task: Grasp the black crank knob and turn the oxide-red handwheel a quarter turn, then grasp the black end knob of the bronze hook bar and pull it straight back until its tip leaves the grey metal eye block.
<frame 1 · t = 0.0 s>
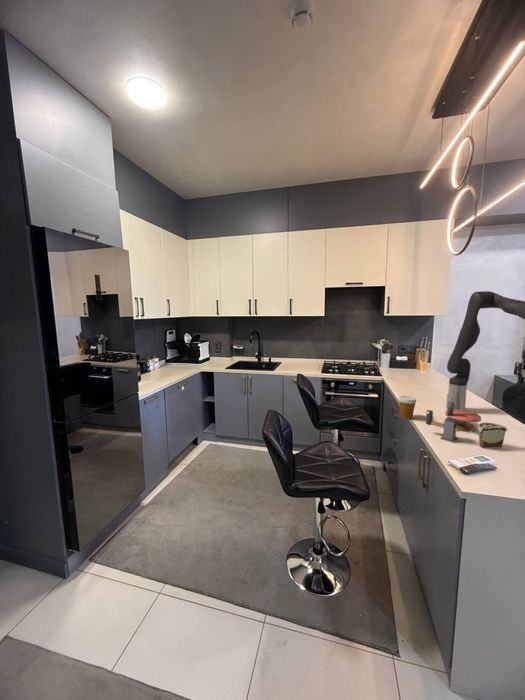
pedestal: (461, 426, 156), on the table
eye block: (449, 438, 143), on the table
hook: (442, 420, 144), point 8 cm above the table, slide at 0.0 cm
disposable coffee cup: (406, 417, 172), on the table
handwheel: (462, 413, 155), point 8 cm above the table, hinge at 0.0°
food container: (487, 445, 136), on the table
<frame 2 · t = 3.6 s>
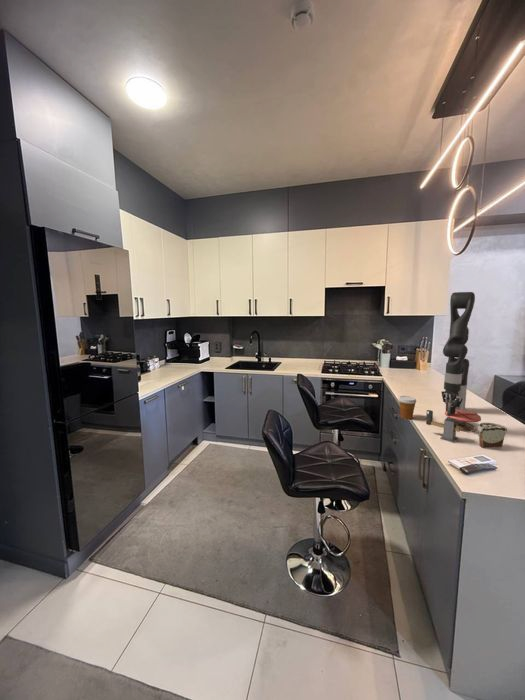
hand: (450, 412, 155), 9 cm above the table, fingers closed on handwheel, 3 cm apart
handwheel: (462, 413, 155), point 8 cm above the table, hinge at -0.1°, touching gripper
everything else where it was.
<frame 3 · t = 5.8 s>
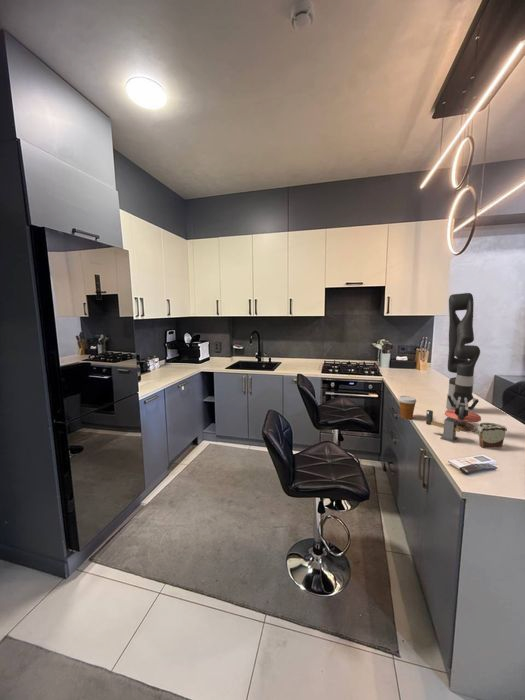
hand: (461, 415, 150), 9 cm above the table, fingers closed on handwheel, 3 cm apart
handwheel: (462, 413, 155), point 8 cm above the table, hinge at 47.2°, touching gripper
everything else where it was.
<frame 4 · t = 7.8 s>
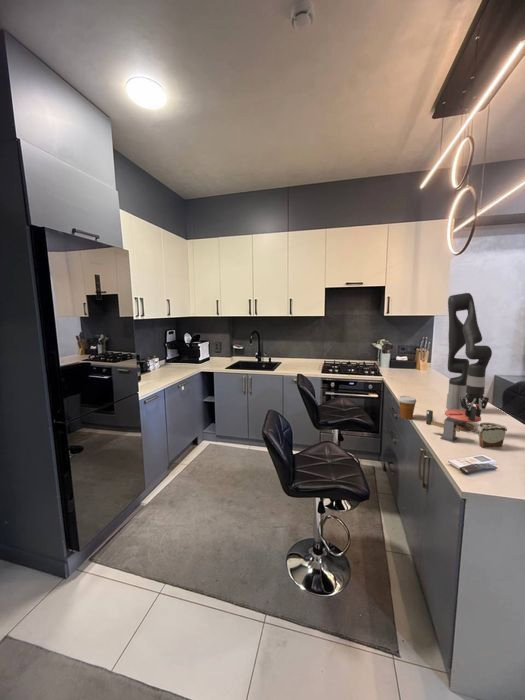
hand: (472, 416, 148), 9 cm above the table, fingers open, 4 cm apart
handwheel: (463, 413, 155), point 8 cm above the table, hinge at 85.9°
everything else where it was.
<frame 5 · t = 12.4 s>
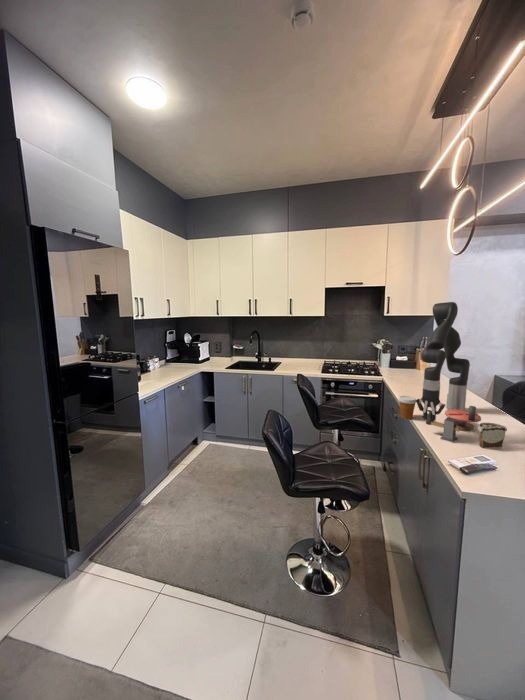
hand: (429, 420, 149), 7 cm above the table, fingers closed on hook, 3 cm apart
hook: (442, 420, 144), point 9 cm above the table, slide at 0.0 cm, touching gripper
everything else where it was.
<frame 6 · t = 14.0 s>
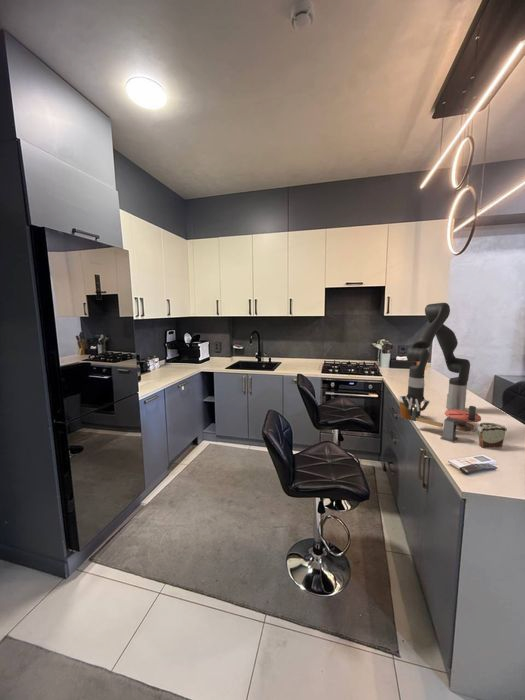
hand: (414, 416, 154), 7 cm above the table, fingers closed on hook, 2 cm apart
hook: (426, 416, 150), point 9 cm above the table, slide at 7.3 cm, touching gripper
everything else where it was.
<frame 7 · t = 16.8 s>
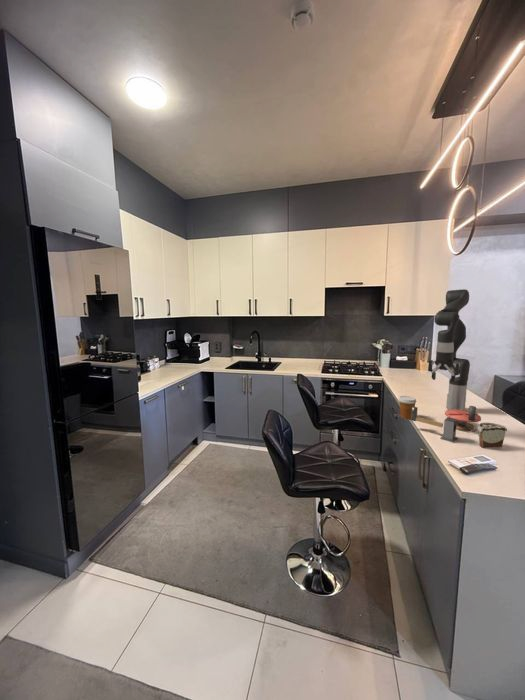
hand: (443, 380, 151), 26 cm above the table, fingers open, 8 cm apart
hook: (426, 416, 150), point 9 cm above the table, slide at 7.4 cm
everything else where it was.
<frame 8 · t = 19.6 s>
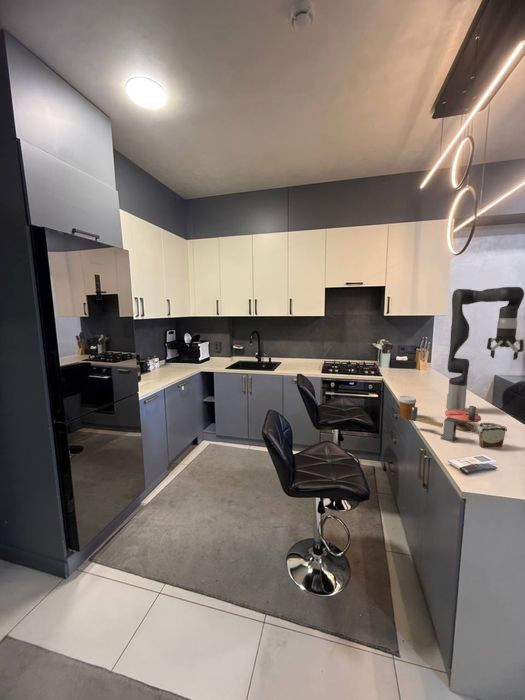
hand: (503, 358, 147), 38 cm above the table, fingers open, 8 cm apart
nothing on the table moved.
at the end: handwheel at +86° (first picture: +0°); hook slide at 7.4 cm; the gripper is holding nothing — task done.
